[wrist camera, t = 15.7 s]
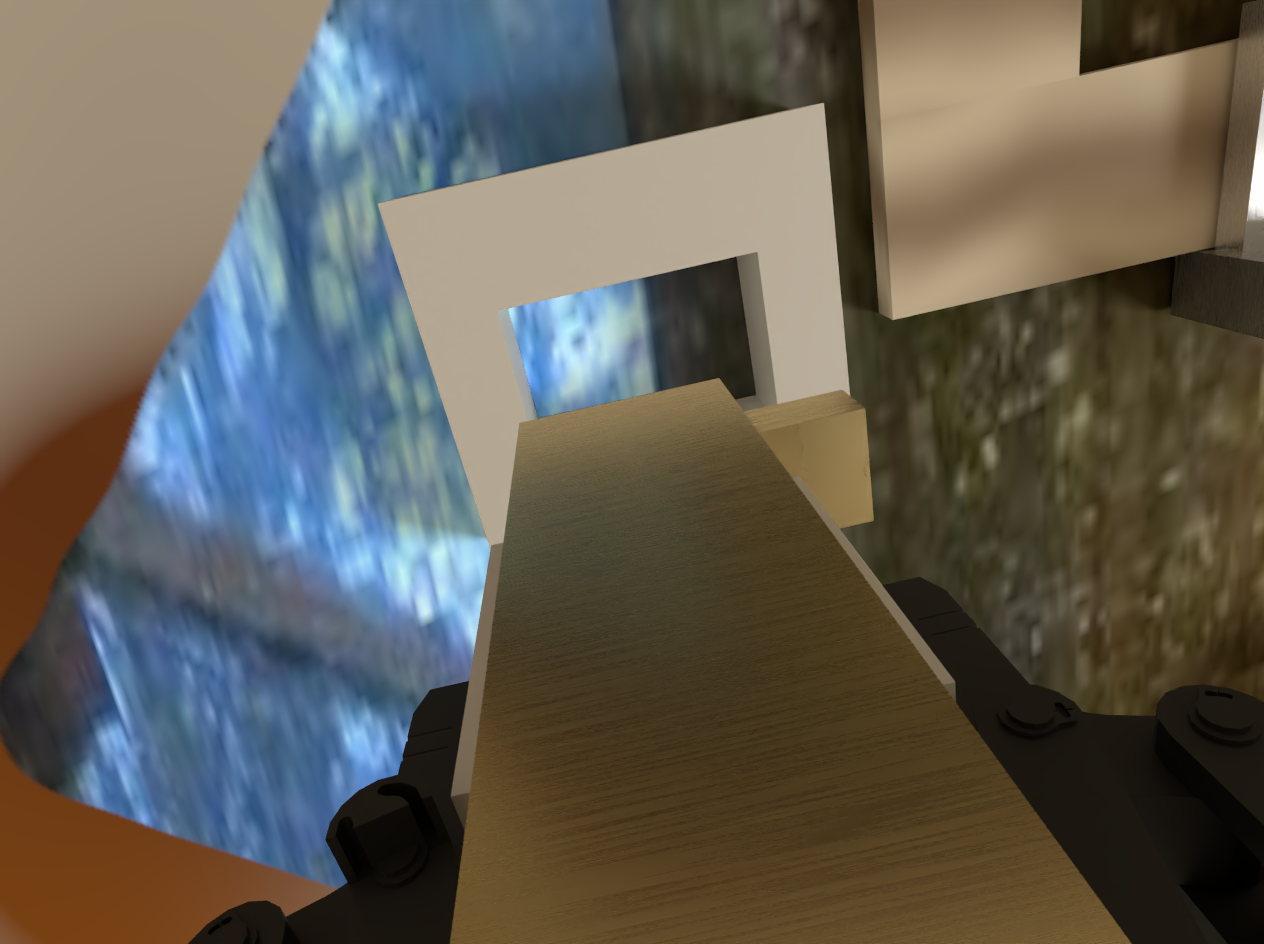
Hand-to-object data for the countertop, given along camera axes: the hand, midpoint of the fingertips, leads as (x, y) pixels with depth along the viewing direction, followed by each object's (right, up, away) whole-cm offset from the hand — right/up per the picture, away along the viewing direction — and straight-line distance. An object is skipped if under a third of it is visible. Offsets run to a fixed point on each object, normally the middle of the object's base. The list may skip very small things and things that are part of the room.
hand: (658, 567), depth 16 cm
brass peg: (+1, +2, +3) cm, 4 cm away
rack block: (0, +8, +17) cm, 19 cm away
